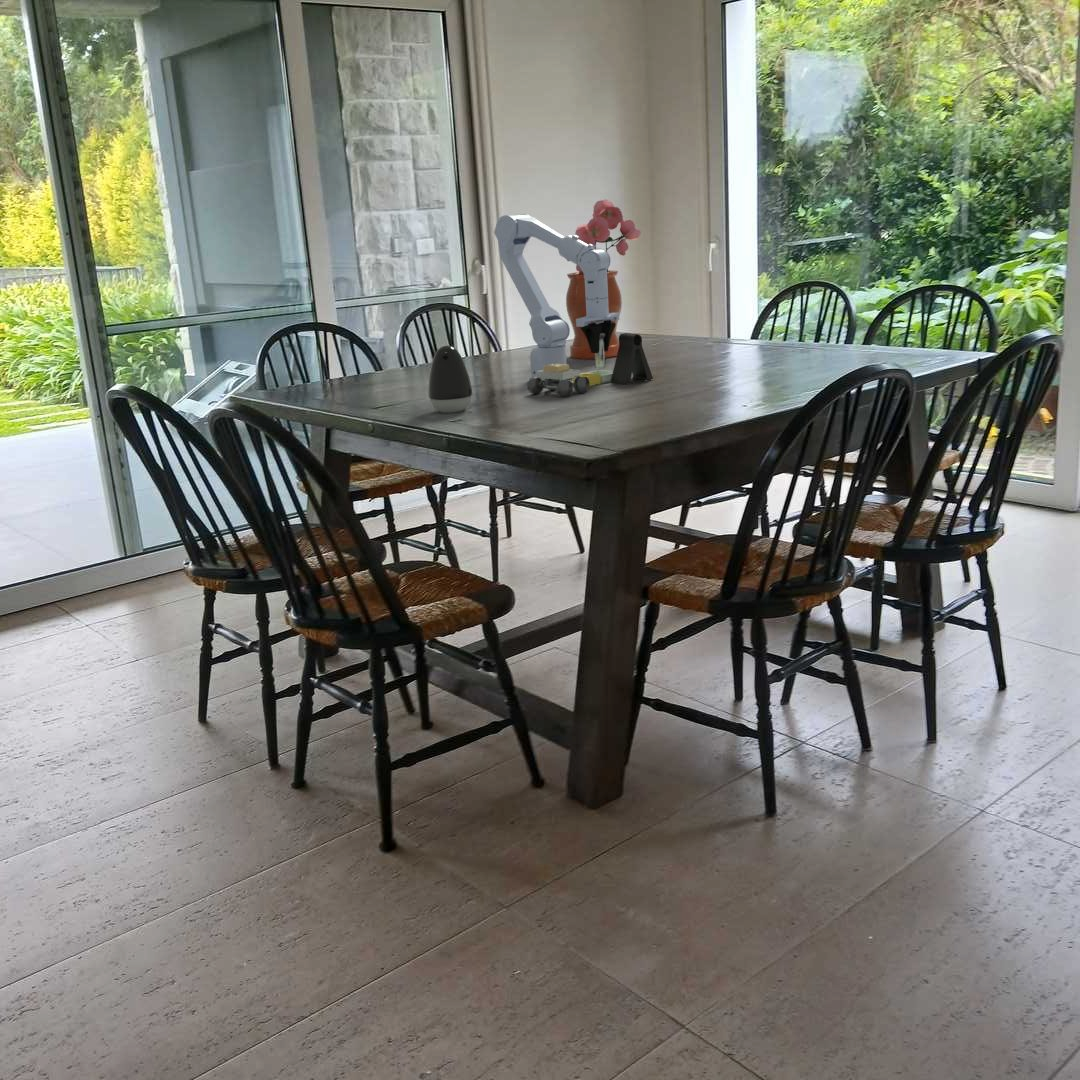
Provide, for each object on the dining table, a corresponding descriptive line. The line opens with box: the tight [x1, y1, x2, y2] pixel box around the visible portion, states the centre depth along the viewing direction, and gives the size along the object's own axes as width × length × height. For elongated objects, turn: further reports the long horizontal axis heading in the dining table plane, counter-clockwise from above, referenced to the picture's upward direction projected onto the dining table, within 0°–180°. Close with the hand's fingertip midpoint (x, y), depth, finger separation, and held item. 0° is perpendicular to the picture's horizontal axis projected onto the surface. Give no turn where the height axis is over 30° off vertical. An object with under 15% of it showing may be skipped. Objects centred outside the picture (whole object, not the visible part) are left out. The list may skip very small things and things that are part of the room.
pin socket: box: [572, 372, 602, 387], centre depth 285 cm, size 5×5×2 cm
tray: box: [585, 369, 613, 384], centre depth 290 cm, size 8×7×2 cm
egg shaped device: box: [427, 345, 473, 414], centre depth 258 cm, size 10×10×15 cm
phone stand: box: [610, 332, 654, 385], centre depth 285 cm, size 9×6×12 cm, turn 121°
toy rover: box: [527, 363, 590, 398], centre depth 274 cm, size 12×10×7 cm
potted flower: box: [564, 199, 641, 360], centre depth 331 cm, size 19×25×45 cm
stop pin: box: [594, 333, 606, 369], centre depth 287 cm, size 3×3×9 cm
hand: (599, 352), depth 288 cm, fingers closed on stop pin, 3 cm apart
